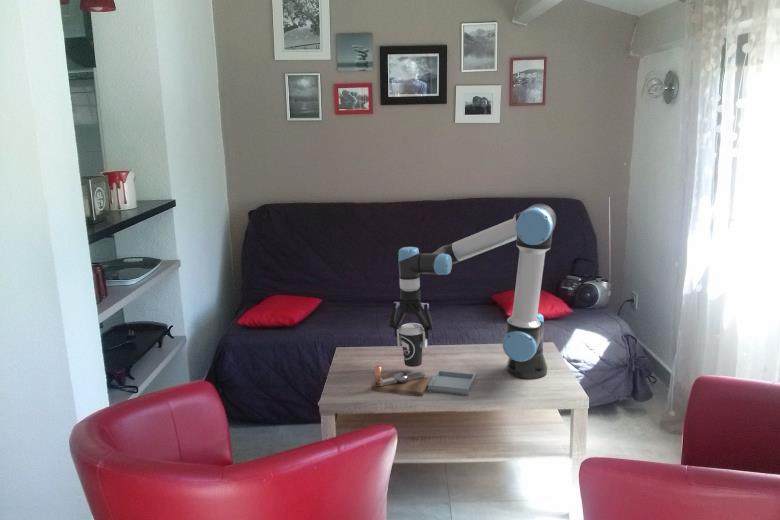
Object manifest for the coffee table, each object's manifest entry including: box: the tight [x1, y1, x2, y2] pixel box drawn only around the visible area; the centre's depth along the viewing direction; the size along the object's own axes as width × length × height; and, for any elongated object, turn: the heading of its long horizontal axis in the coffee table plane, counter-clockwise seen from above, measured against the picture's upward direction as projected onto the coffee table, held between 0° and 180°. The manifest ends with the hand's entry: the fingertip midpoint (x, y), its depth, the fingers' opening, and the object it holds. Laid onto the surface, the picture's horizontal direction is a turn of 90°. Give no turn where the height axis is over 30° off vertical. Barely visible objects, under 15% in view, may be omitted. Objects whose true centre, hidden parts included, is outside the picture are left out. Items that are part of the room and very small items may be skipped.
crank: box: [374, 364, 426, 386], centre depth 229 cm, size 19×5×7 cm, turn 115°
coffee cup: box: [399, 322, 424, 368], centre depth 240 cm, size 10×10×15 cm
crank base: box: [371, 372, 433, 397], centre depth 230 cm, size 19×13×2 cm
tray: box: [427, 369, 477, 397], centre depth 229 cm, size 14×14×2 cm
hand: (412, 345), depth 240 cm, fingers closed on coffee cup, 9 cm apart
